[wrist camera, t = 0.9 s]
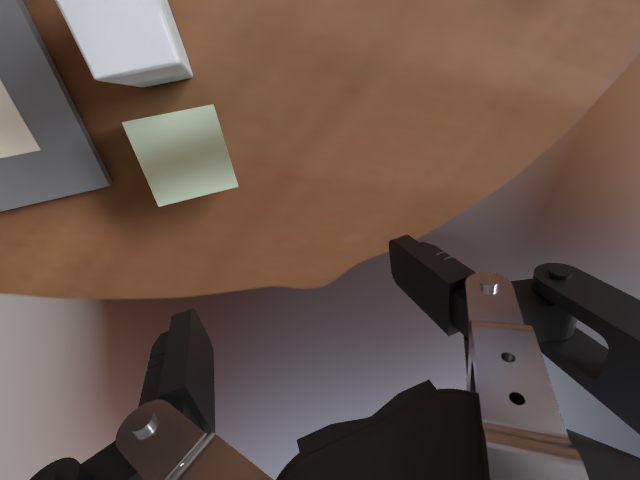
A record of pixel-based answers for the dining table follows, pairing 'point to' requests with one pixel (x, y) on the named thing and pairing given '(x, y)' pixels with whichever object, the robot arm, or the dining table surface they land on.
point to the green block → (182, 154)
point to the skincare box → (128, 40)
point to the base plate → (39, 121)
